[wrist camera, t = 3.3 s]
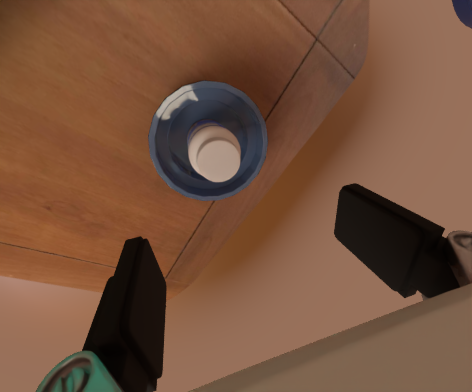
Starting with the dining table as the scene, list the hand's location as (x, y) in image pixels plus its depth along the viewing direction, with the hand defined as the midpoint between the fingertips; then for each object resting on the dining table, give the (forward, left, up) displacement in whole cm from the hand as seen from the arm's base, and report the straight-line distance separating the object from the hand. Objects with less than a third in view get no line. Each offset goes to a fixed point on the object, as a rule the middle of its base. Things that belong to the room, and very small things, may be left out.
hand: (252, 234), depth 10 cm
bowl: (0, 0, -21) cm, 21 cm away
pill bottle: (0, 0, -20) cm, 20 cm away
